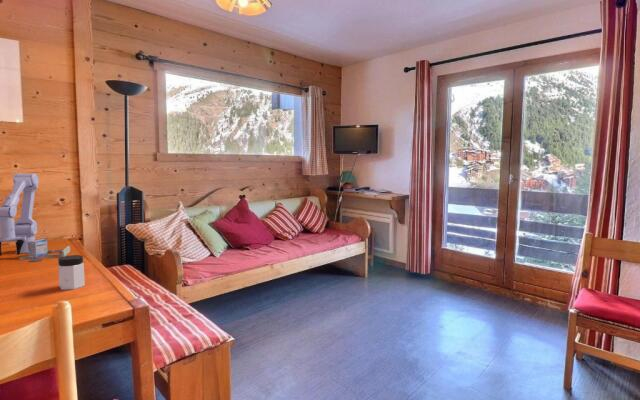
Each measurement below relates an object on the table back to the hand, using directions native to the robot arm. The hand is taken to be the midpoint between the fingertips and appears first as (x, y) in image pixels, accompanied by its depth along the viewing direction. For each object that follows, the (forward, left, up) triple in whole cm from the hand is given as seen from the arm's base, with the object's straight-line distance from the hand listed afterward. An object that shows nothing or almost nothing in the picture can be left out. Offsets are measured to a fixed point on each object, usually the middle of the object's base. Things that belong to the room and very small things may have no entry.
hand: (9, 255), depth 189 cm
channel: (0, +16, -2) cm, 16 cm away
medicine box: (0, +12, -2) cm, 12 cm away
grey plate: (0, +16, -2) cm, 16 cm away
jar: (+66, +39, -2) cm, 77 cm away
